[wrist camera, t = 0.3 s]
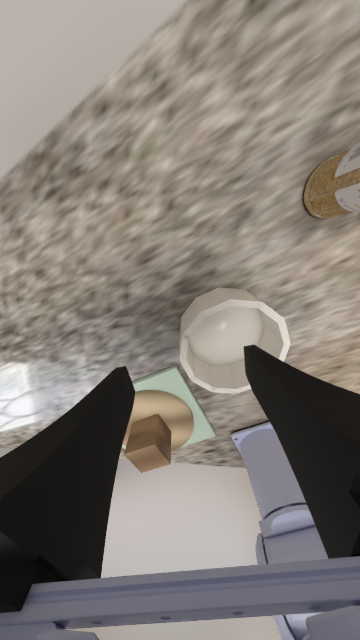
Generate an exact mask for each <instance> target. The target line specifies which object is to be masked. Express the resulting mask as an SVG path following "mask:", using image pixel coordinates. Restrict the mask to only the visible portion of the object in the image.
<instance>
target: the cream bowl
mask: <svg viewBox="0 0 360 640" xmlns="http://www.w3.org/2000/svg"><path fill="white" fill-rule="evenodd" d="M290 344H291V342H290V339H289V335H288V331H287V327H286V323H285V319H284V318H283V317H281V316H280V315H279V314H277V313H276V312H275V311H273V310H272V309H271V308H270V307H268V306H267V305H266V304H264V303H263V302H262V301H260V300H259V299H257V298H256V297H254V296H253V295H251V294H250V293H248V292H247V291H246V290H244V289H233V288H221V287H218V288H216V289H214V290H212V291H210V292H207V293H205V294H203V295H201V296H198V297H196V298H195V299H194V300H193V302H192V303H191V304H190V306H189V307H188V308H187V310H186V311H185V312H184V314H183V315H182V316H181V324H180V335H179V361H180V362H181V364H182V366H183V368H184V369H185V371H186V373H187V375H188V377H189V378H190V380H191V381H192V382H194V383H196V384H198V385H200V386H201V387H203V388H205V389H207V390H209V391H210V392H218V393H234V394H237V393H240V392H243V391H246V390H249V389H251V387H250V384H249V382H248V379H247V377H246V374H245V361H244V346H248V345H256V346H257V347H259V348H261V349H262V350H264V351H266V352H267V353H269V354H271V355H272V356H274V357H276V358H278V359H279V360H281V361H283V362H284V360H285V357H286V355H287V352H288V349H289V347H290Z"/></svg>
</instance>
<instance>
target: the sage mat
mask: <svg viewBox="0 0 360 640" xmlns="http://www.w3.org/2000/svg"><path fill="white" fill-rule="evenodd" d="M132 384H133V386H134V389H135V392H137V391H142V390H160V391H165V392H168V393H171V394H173V395H176V396H177V397H179V398H181V399H182V400H183V401H184V402H185V403H186V404H187V405H188V406H189V407H190V409H191V411H192V414H193V420H194V430H193V434H192V436H191V438H190V439H189V440H188V441H187V442H186V443H185V444H184V445H183V446H186V445H189V444H192V443H196V442H199V441H202V440H205V439H209V438H212V437H215V436H216V434H215V431H214V429H213V428H212V426H211V424H210V422H209V421H208V419H207V417H206V416H205V414H204V412H203V410H202V409H201V407H200V405H199V403H198V402H197V400H196V398H195V397H194V395H193V393H192V391H191V390H190V388H189V386H188V384H187V383H186V381H185V379H184V378H183V376H182V374H181V372H180V371H179V369H178V367H177V365H174V366H172V367H169V368H167V369H164V370H162V371H159V372H156V373H154V374H151V375H149V376H146V377H144V378H141V379H139V380H136V381H133V382H132ZM183 446H181V447H183ZM122 447H123V448H124V449H126V446H124V445H122Z"/></svg>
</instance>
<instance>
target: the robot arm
mask: <svg viewBox="0 0 360 640" xmlns="http://www.w3.org/2000/svg"><path fill="white" fill-rule="evenodd" d="M244 361H245V374H246V377H247V379H248V382H249V384H250V387H251V389H252V391H253V393H254V395H255V396H256V398H257V400H258V402H259V403H260V405H261V407H262V409H263V411H264V412H265V414H266V416H267V418H268V419H269V421H270V422H267V423H264V424H261V425H257V426H254V427H251V428H248V429H245V430H241V431H238V432H235V433H232V434H231V437H232V440H233V441H234V443H235V445H236V447H237V449H238V451H239V453H240V455H241V456H242V458H243V460H244V462H245V465H246V468H247V472H248V475H249V478H250V482H251V485H252V488H253V491H254V495H255V498H256V501H257V505H258V508H259V511H260V514H261V517H262V521H259V525H260V528H261V532H262V533H260V534H258V536H257V542H256V557H257V563H258V565H250V566H238V567H227V568H215V569H204V570H192V571H179V572H169V573H156V574H144V575H133V576H121V577H110V578H101V571H102V561H103V554H104V546H105V537H106V531H107V523H108V517H109V511H110V504H111V498H112V492H113V485H114V481H115V475H116V470H117V465H118V460H119V455H120V451H121V447H122V444H123V441H124V437H125V434H126V430H127V427H128V424H129V420H130V417H131V413H132V410H133V405H134V399H135V389H134V386H133V384H132V381H131V378H130V376H129V373H128V370H127V368H126V366H124V367H118V368H116V369H114V370H113V371H112V372H111V373H110V374H109V375H108V376H107V377H106V378H105V379H104V380H103V381H101V382H100V383H99V384H98V385H97V386H96V387H95V388H94V389H93V390H92V391H91V392H90V393H89V394H88V395H86V396H85V397H84V398H83V399H82V400H81V401H80V402H78V403H77V404H76V405H75V406H74V407H73V408H72V409H70V410H69V411H68V412H67V413H65V414H64V415H63V416H61V417H60V418H59V419H58V420H56V421H55V422H54V423H52V424H51V425H50V426H48V427H47V428H45V429H44V430H42V431H41V432H39V433H38V434H37V435H35V436H34V437H32V438H31V439H29V440H28V441H26V442H25V443H23V444H22V445H20V446H19V447H17V448H15V449H14V450H12V451H11V452H9V453H7V454H6V455H4V456H2V457H1V458H0V640H99V639H98V638H97V636H96V635H95V633H93V632H82V631H71V630H65V629H75V628H90V627H106V626H121V625H136V624H152V623H166V622H181V621H197V620H213V619H228V618H243V617H259V616H273V617H274V620H275V622H276V624H277V626H278V629H279V632H280V636H281V638H282V640H360V394H357V393H354V392H352V391H349V390H346V389H343V388H340V387H337V386H335V385H332V384H330V383H327V382H325V381H322V380H320V379H318V378H315V377H313V376H311V375H309V374H306V373H304V372H302V371H300V370H298V369H296V368H294V367H292V366H290V365H288V364H287V363H285V362H283V361H281V360H279V359H278V358H276V357H274V356H272V355H271V354H269V353H267V352H266V351H264V350H262V349H261V348H259V347H257V346H256V345H248V346H244Z"/></svg>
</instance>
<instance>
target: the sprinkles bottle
mask: <svg viewBox="0 0 360 640" xmlns="http://www.w3.org/2000/svg"><path fill="white" fill-rule="evenodd" d="M304 202H305V206H306V208H307V209H308V211H309V213H310V214H311V215H312V216H314V217H317V218H321V219H327V218H332V217H335V216H337V215H340V214H345V213H350V212H359V211H360V142H359V143H357V144H356V145H355V146H353V147H352V148H351V149H349V150H347V151H345V152H343V153H341V154H340V155H337V156H334V157H331V158H329V159H327V160H326V161H324V162H323V163H322V164H320V165H319V166H318V167H317V168H316V169H315V171H314V172H313V173H312V174H311V176H310V178H309V180H308V182H307V184H306V188H305V192H304Z"/></svg>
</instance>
